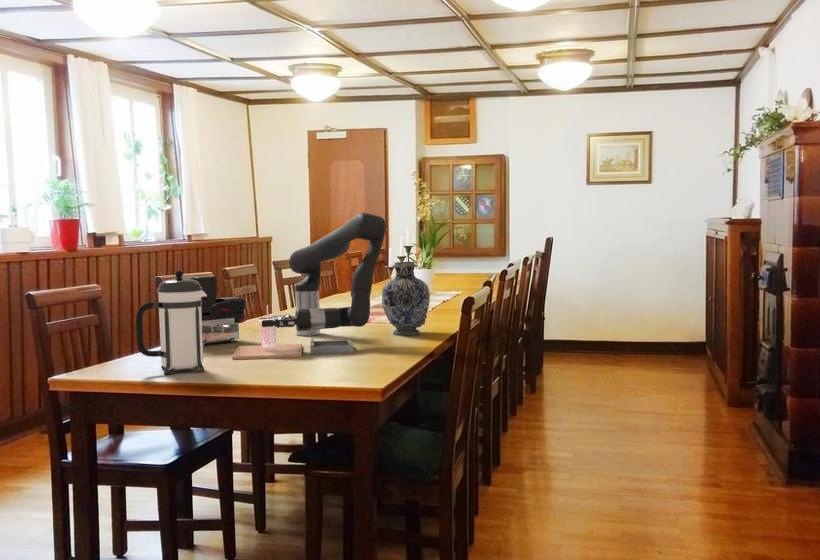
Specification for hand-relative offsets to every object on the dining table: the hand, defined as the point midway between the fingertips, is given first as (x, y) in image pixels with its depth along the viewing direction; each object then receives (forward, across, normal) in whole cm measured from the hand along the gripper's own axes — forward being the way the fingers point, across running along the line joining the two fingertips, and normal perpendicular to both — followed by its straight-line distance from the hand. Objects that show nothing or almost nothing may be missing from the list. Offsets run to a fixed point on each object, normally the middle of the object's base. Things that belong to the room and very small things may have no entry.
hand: (260, 322), depth 261 cm
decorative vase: (-58, -26, +11) cm, 65 cm away
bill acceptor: (+15, -30, +10) cm, 35 cm away
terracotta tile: (-2, 0, +10) cm, 11 cm away
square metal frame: (-23, +4, +11) cm, 26 cm away
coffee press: (+27, +23, +10) cm, 37 cm away
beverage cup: (-2, 0, +8) cm, 9 cm away
